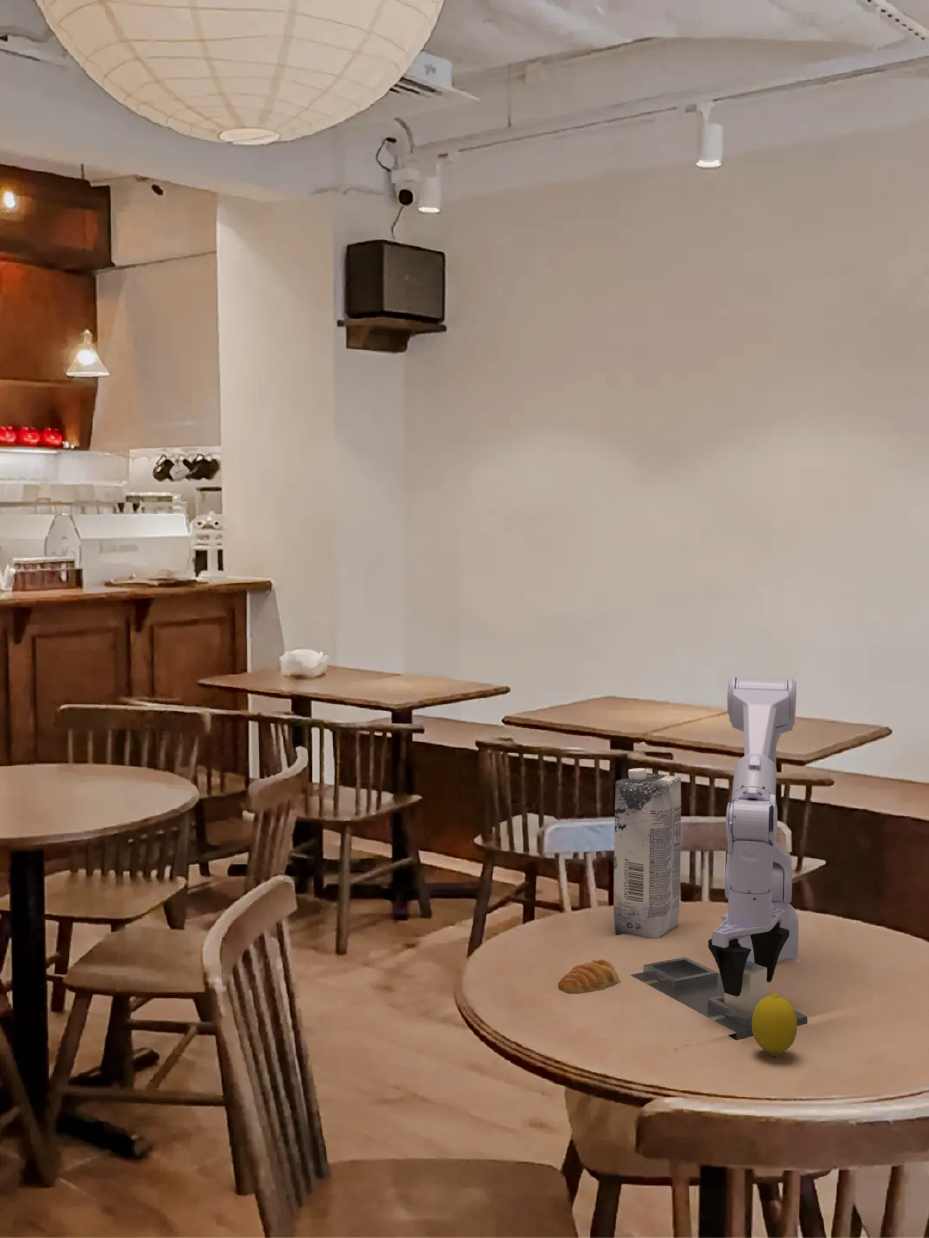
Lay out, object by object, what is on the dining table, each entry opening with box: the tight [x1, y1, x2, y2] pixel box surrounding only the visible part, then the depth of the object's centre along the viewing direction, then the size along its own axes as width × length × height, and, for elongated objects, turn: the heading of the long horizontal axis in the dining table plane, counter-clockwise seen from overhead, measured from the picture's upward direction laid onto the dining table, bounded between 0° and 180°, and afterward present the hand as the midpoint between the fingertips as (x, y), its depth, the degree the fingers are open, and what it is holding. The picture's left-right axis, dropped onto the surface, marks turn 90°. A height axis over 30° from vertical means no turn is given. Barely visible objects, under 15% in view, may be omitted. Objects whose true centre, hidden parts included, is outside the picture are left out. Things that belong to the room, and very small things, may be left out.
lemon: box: [752, 992, 798, 1057], centre depth 163 cm, size 6×6×8 cm
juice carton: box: [613, 767, 682, 940], centre depth 210 cm, size 9×10×27 cm
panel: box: [630, 956, 808, 1041], centre depth 181 cm, size 12×24×2 cm, turn 28°
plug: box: [724, 961, 768, 1014], centre depth 175 cm, size 4×4×7 cm
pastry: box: [557, 959, 621, 995], centre depth 186 cm, size 9×7×4 cm
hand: (748, 986), depth 175 cm, fingers open, 7 cm apart
